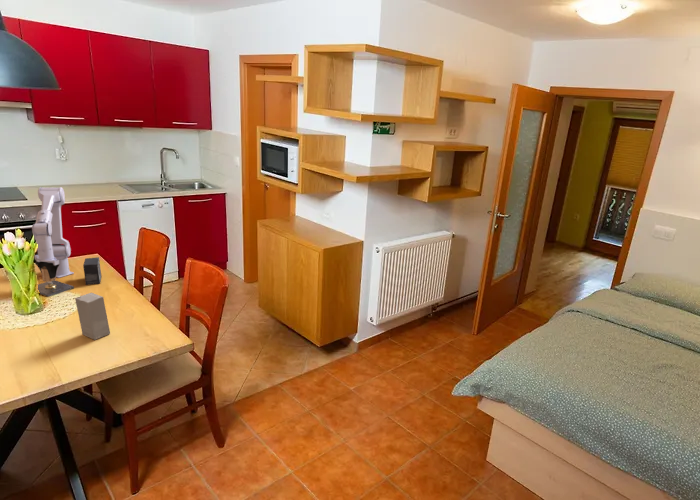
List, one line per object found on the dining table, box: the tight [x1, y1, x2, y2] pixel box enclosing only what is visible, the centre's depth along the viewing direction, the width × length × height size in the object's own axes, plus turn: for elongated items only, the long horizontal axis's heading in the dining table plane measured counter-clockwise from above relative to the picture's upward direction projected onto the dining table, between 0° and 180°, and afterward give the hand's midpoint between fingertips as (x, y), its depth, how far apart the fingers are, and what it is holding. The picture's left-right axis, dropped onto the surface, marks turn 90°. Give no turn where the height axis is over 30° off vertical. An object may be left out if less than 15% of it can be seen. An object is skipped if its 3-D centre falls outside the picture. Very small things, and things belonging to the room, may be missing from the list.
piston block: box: [37, 279, 75, 298], centre depth 205 cm, size 15×12×5 cm
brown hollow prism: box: [40, 266, 57, 283], centre depth 203 cm, size 5×5×6 cm
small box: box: [82, 257, 103, 286], centre depth 217 cm, size 11×6×10 cm, turn 25°
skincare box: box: [74, 292, 111, 341], centre depth 166 cm, size 8×7×16 cm
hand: (49, 276), depth 204 cm, fingers closed on brown hollow prism, 5 cm apart
